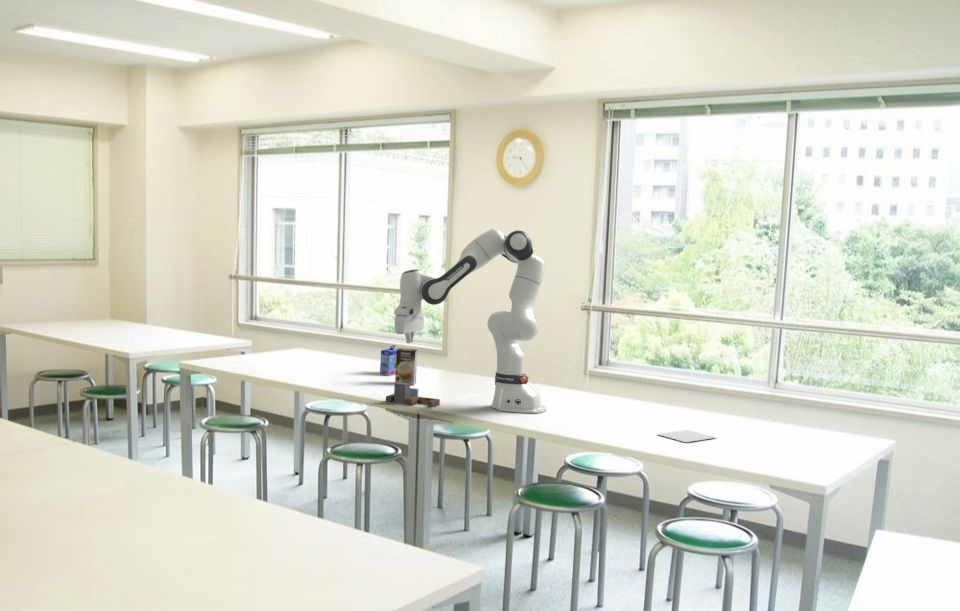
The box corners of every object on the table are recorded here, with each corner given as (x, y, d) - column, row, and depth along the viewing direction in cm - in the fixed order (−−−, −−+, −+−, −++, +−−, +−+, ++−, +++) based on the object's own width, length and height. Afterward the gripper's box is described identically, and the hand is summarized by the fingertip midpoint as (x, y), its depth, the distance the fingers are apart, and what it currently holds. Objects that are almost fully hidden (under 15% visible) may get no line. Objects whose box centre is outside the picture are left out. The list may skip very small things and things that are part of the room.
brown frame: (443, 403, 355) (443, 391, 354) (432, 408, 345) (432, 395, 345) (397, 398, 362) (398, 386, 362) (385, 402, 353) (386, 390, 352)
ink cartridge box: (388, 376, 418) (389, 346, 417) (379, 374, 421) (380, 345, 420) (399, 373, 427) (400, 344, 426) (390, 372, 430) (391, 343, 429)
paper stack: (738, 445, 304) (738, 443, 304) (690, 452, 289) (691, 450, 289) (687, 431, 323) (687, 429, 323) (640, 438, 308) (640, 436, 308)
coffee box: (394, 384, 396) (395, 349, 395) (397, 382, 402) (398, 348, 401) (414, 385, 395) (415, 350, 394) (416, 383, 401) (417, 349, 400)
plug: (409, 402, 355) (410, 383, 354) (404, 404, 351) (405, 384, 350) (398, 401, 357) (399, 382, 356) (393, 402, 353) (394, 383, 352)
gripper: (414, 306, 363) (413, 339, 365) (392, 310, 344) (391, 345, 346) (428, 307, 361) (427, 340, 362) (406, 311, 342) (405, 346, 343)
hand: (409, 342), depth 354 cm, fingers closed
